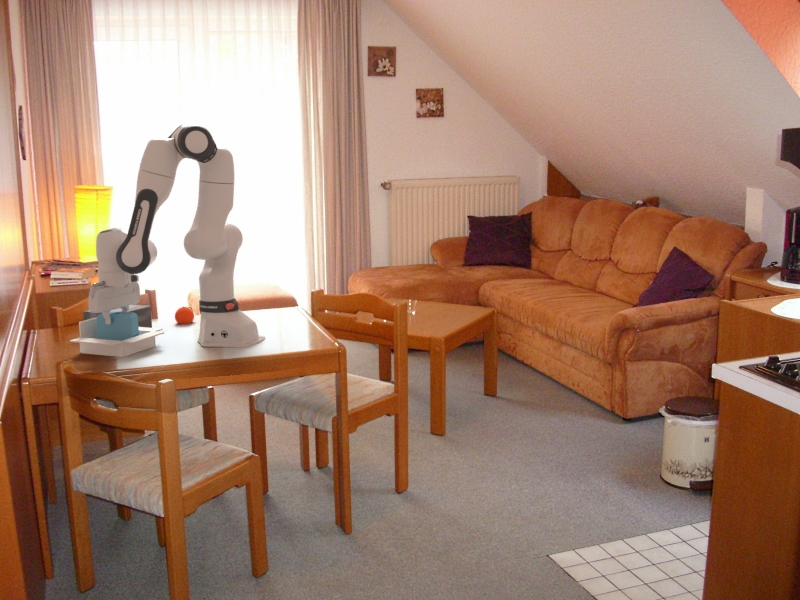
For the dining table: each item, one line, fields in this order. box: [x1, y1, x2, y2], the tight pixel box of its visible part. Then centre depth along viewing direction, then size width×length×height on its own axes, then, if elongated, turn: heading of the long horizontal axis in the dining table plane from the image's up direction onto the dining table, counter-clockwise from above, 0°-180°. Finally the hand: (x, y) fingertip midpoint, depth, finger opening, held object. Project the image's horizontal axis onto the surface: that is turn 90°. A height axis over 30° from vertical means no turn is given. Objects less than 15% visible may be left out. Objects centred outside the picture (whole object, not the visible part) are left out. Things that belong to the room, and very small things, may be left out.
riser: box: [82, 304, 153, 328], centre depth 280 cm, size 16×16×9 cm
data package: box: [96, 312, 139, 341], centre depth 255 cm, size 12×4×12 cm, turn 83°
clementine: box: [174, 306, 195, 325], centre depth 293 cm, size 8×7×7 cm
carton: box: [69, 318, 165, 358], centre depth 254 cm, size 21×24×10 cm
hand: (116, 321), depth 254 cm, fingers closed on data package, 5 cm apart
